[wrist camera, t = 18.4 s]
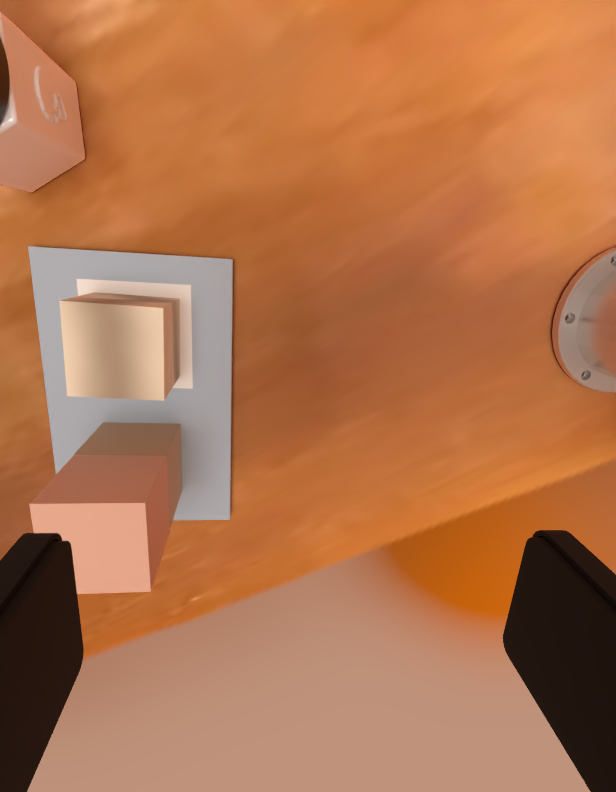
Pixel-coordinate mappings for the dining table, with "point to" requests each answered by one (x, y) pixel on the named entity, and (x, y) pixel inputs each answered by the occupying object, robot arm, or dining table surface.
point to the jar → (35, 114)
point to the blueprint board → (148, 419)
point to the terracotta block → (108, 519)
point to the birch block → (121, 345)
